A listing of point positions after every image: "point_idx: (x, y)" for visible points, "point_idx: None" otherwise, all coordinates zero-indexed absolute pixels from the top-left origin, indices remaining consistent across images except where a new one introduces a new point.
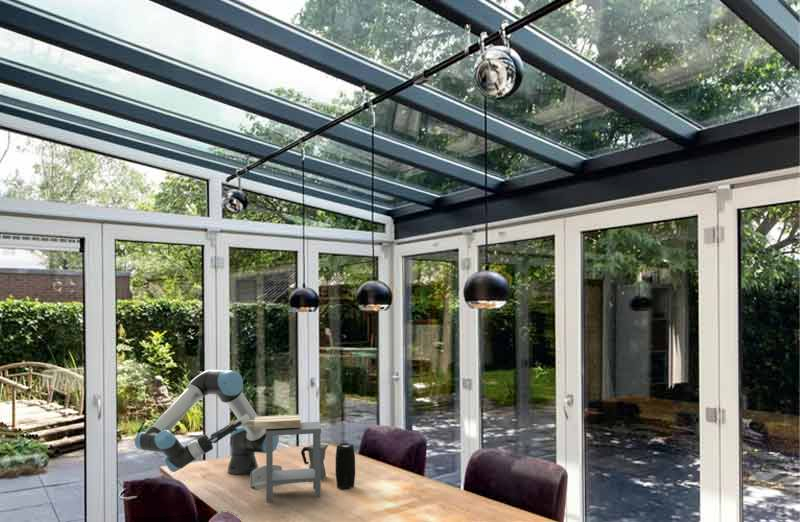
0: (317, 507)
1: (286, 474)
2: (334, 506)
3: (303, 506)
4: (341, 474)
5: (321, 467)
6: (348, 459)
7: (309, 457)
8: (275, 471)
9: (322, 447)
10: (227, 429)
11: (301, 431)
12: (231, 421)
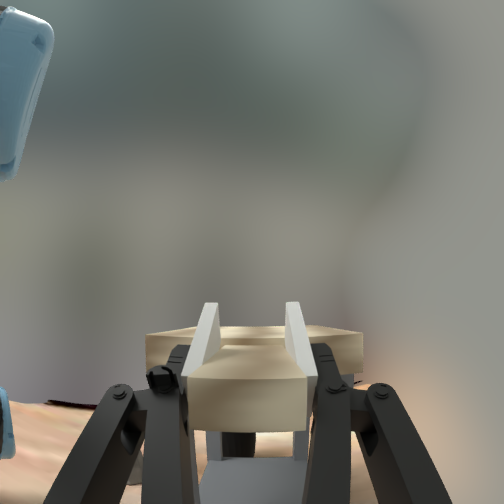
0: (369, 483)
1: (253, 499)
2: (360, 468)
3: (364, 501)
4: (251, 442)
5: (141, 453)
6: None
7: None
8: None
9: None
10: (406, 425)
11: None
12: (230, 374)
